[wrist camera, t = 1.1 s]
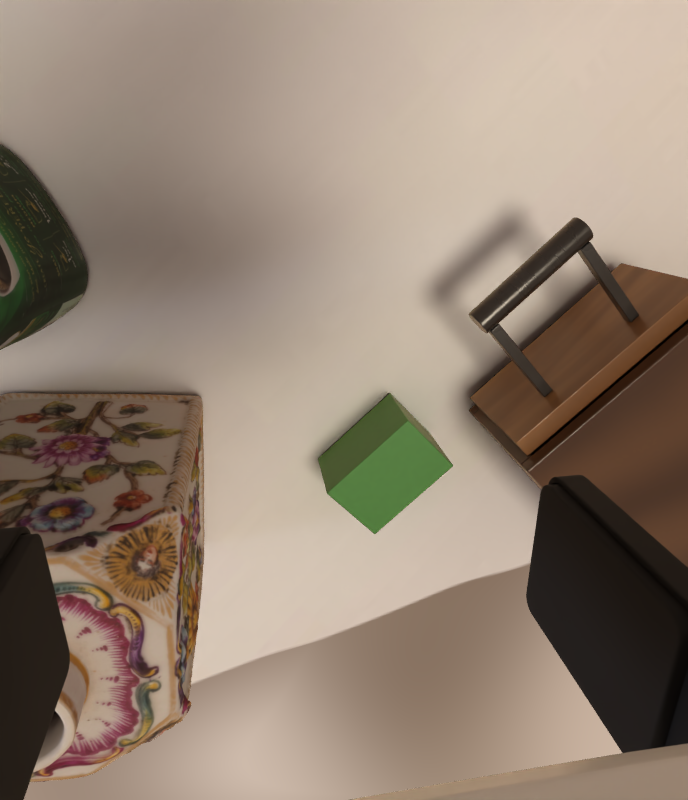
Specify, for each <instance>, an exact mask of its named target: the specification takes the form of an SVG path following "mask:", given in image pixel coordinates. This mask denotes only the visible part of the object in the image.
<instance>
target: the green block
mask: <svg viewBox="0 0 688 800" xmlns="http://www.w3.org/2000/svg"><path fill="white" fill-rule="evenodd" d="M318 461H319V464H320V468H321V472H322V476H323V480H324V483H325V487H326V491H327V494H328V495H329V496H331V497H332V498H333V499H334V500H335V501H336V502H338V503H339V504H340V505H341V506H342V507H343V508H345V509H346V510H347V511H348V512H349V513H350V514H352V515H353V516H354V517H355V518H356V519H357V520H359V521H360V522H361V523H362V524H363V525H364V526H366V527H367V528H368V529H369V530H370V531H371V532H373V533H374V534H376V533H377V532H378V531H379V530H380V529H381V528H382V527H384V526H385V525H386V524H387V523H388V522H389V521H391V520H392V519H393V518H394V517H395V516H396V515H397V514H399V513H400V512H401V511H402V510H403V509H404V508H405V507H407V506H408V505H409V504H410V503H411V502H412V501H413V500H415V499H416V498H417V497H418V496H419V495H420V494H422V493H423V492H424V491H425V490H426V489H427V488H428V487H430V486H431V485H432V484H433V483H434V482H435V481H436V480H438V479H439V478H440V477H441V476H442V475H443V474H444V473H446V472H447V471H448V470H449V469H450V468H451V467H452V466H453V465H452V463H451V462H450V461H449V459H448V458H447V456H446V455H445V454H444V452H443V451H442V449H441V448H440V447H439V445H438V444H437V442H436V441H435V440H434V438H433V437H432V436H431V434H430V433H429V432H428V431H427V430H426V429H425V428H424V427H423V426H422V425H421V424H420V423H419V422H418V421H417V420H416V419H415V418H414V417H413V416H412V415H411V414H410V413H409V412H408V411H407V410H406V409H405V408H404V407H403V406H402V405H401V404H400V403H399V402H398V401H397V400H396V399H395V398H394V397H393V396H392V395H391V394H390V393H389V394H388V395H387V396H386V397H385V398H384V399H383V400H382V401H381V402H380V403H378V404H377V405H376V406H375V407H374V408H373V409H372V410H371V411H370V412H369V413H367V414H366V415H365V416H364V417H363V418H362V419H361V420H360V421H359V422H358V423H357V424H355V425H354V426H353V427H352V428H351V429H350V430H349V431H348V432H347V433H346V434H345V435H343V436H342V437H341V438H340V439H339V440H338V441H337V442H336V443H335V444H334V445H332V446H331V447H330V448H329V449H328V450H327V451H326V452H325V453H324V454H323V455H322V456H320V457H319V458H318Z"/></svg>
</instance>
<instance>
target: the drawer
mask: <svg viewBox="0 0 688 800" xmlns="http://www.w3.org/2000/svg"><path fill="white" fill-rule="evenodd" d="M592 238H593V233H592V231H591V229H590V228H589V226H588V225H587V224H586V223H585V222H584V221H582V220H581V219H579V218H573V219H572V220H571V221H569V222H568V223H567V224H566V225H565V226H564V227H563V228H562V229H561V230H560V231H559V232H557V233H556V234H555V235H554V236H553V237H552V238H551V239H550V240H549V241H548V242H547V243H545V244H544V245H543V246H542V247H541V248H540V249H539V250H538V251H537V252H536V253H535V254H533V255H532V256H531V257H530V258H529V259H528V260H527V261H526V262H525V263H524V264H523V265H521V266H520V267H519V268H518V269H517V270H516V271H515V272H514V273H513V274H512V275H510V276H509V277H508V278H507V279H506V280H505V281H504V282H503V283H502V284H501V285H500V286H498V287H497V288H496V289H495V290H494V291H493V292H492V293H491V294H490V295H489V296H488V297H486V298H485V299H484V300H483V301H482V302H481V303H480V304H479V305H478V306H477V307H476V308H474V309H473V310H472V311H471V312H470V313H469V316H470V318H471V319H472V320H473V322H474V323H475V324H476V325H477V326H478V327H479V328H480V329H481V330H482V331H483V332H485V333H488V332H489V333H490V334H491V335H492V337H493V338H494V339H495V340H496V342H497V343H498V344H499V345H500V346H501V348H502V349H503V350H504V351H505V352H506V354H507V355H508V356H509V357H510V358H511V360H512V361H511V362H510V363H509V364H507V365H506V366H505V367H504V368H503V369H502V370H501V371H500V372H498V373H497V374H496V375H495V376H494V377H493V378H492V379H491V380H489V381H488V382H487V383H486V384H485V385H484V386H483V387H482V388H480V389H479V390H478V391H477V392H476V393H475V394H474V395H473V396H471V397H470V399H471V400H472V401H473V402H474V403H475V404H476V405H477V406H478V407H479V409H480V410H481V411H482V412H483V413H484V414H485V415H486V416H487V417H488V418H489V419H490V420H492V421H493V422H494V423H495V424H496V425H497V426H498V427H499V428H500V429H501V430H502V431H503V432H504V433H505V434H506V435H507V436H508V437H509V438H510V439H511V440H512V441H513V442H514V443H515V444H516V445H517V446H518V447H519V448H520V449H521V450H522V451H523V452H524V453H525V454H526V455H527V456H528V455H530V454H531V453H532V452H533V453H536V452H537V451H538V450H539V449H540V448H542V447H543V446H544V445H545V444H546V443H547V442H549V441H550V440H551V439H552V438H553V437H554V436H556V435H557V434H558V433H559V432H560V431H561V430H563V429H564V428H565V427H566V426H567V425H568V424H570V423H571V422H572V421H573V420H574V419H576V418H577V417H578V416H579V415H580V414H581V413H583V412H584V411H585V410H586V409H587V408H588V407H590V406H591V405H592V404H593V403H594V402H595V401H597V400H598V399H599V398H600V397H601V396H602V395H604V394H605V393H606V392H607V391H608V390H610V389H611V388H612V387H613V386H614V385H615V384H617V383H618V382H619V381H620V380H621V379H622V378H624V377H625V376H626V375H627V374H628V373H629V372H631V371H632V370H633V369H634V368H635V367H636V366H638V365H639V364H640V363H641V362H642V361H644V360H645V359H646V358H647V357H648V356H649V355H651V354H652V353H653V352H654V351H655V350H656V349H658V348H659V347H660V346H661V345H662V344H663V343H665V342H666V341H667V340H668V339H669V338H670V337H672V336H673V335H674V334H675V333H676V332H678V331H679V330H680V329H681V328H682V327H683V326H685V325H686V324H687V323H688V279H686V278H682V277H678V276H673V275H669V274H665V273H661V272H656V271H652V270H648V269H643V268H639V267H635V266H631V265H626V264H622V263H621V264H620V265H619V266H618V267H617V268H615V269H614V270H613V271H612V272H610V271H609V269H608V268H607V266H606V265H605V263H604V262H603V260H602V259H601V257H600V256H599V254H598V253H597V251H596V250H595V248H594V247H593V245H592V244H591V242H589V241H590V240H591V239H592ZM577 252H578V253H579V255H580V256H581V258H582V259H583V261H584V262H585V264H586V265H587V266H588V268H589V269H590V271H591V272H592V274H593V275H594V277H595V278H596V280H597V281H598V282H599V284H597V285H596V286H595V287H594V288H593V289H592V290H591V291H590V292H588V293H587V294H586V295H585V296H584V297H583V298H582V299H581V300H579V301H578V302H577V303H576V304H575V305H574V306H573V307H572V308H570V309H569V310H568V311H567V312H566V313H565V314H564V315H563V316H561V317H560V318H559V319H558V320H557V321H556V322H555V323H554V324H552V325H551V326H550V327H549V328H548V329H547V330H546V331H545V332H543V333H542V334H541V335H540V336H539V337H538V338H537V339H536V340H534V341H533V342H532V343H531V344H530V345H529V346H528V347H527V348H525V349H524V350H523V351H522V352H521V350H520V349H519V348H518V347H517V345H516V344H515V343H514V342H513V340H512V339H511V338H510V337H509V336H508V334H507V333H506V332H505V331H504V329H503V328H502V327H501V326H500V324H498V323H499V322H500V321H501V320H503V319H504V318H505V317H506V316H507V315H508V314H509V313H510V312H511V311H512V310H514V309H515V308H516V307H517V306H518V305H519V304H520V303H521V302H522V301H524V300H525V299H526V298H527V297H528V296H529V295H530V294H531V293H532V292H533V291H535V290H536V289H537V288H538V287H539V286H540V285H541V284H542V283H543V282H545V281H546V280H547V279H548V278H549V277H550V276H551V275H552V274H553V273H554V272H556V271H557V270H558V269H559V268H560V267H561V266H562V265H563V264H564V263H566V262H567V261H568V260H569V259H570V258H571V257H572V256H573V255H574V254H575V253H577Z"/></svg>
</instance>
